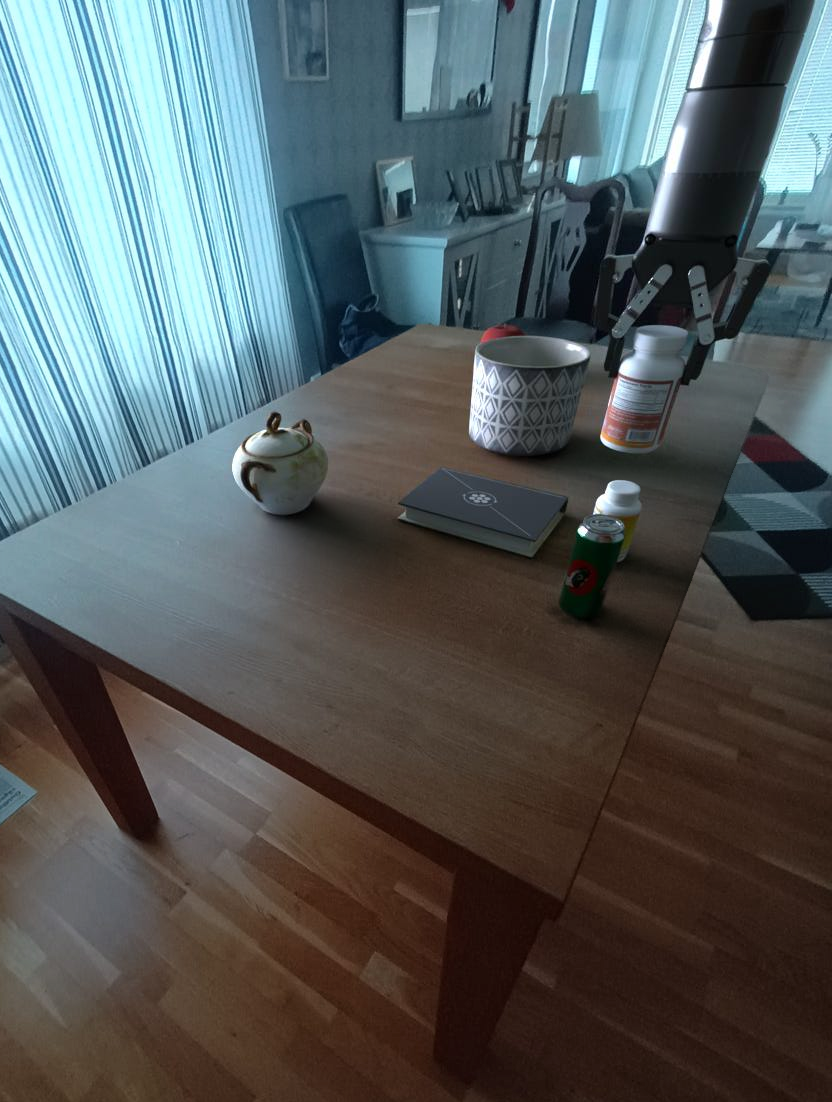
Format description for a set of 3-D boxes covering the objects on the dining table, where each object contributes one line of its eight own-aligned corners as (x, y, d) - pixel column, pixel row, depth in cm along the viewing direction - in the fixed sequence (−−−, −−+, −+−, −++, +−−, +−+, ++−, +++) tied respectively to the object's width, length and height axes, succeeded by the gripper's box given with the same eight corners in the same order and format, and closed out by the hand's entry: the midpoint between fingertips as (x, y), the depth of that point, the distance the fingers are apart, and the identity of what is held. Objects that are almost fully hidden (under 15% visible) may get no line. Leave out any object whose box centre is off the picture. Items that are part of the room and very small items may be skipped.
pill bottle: (625, 428, 66) (656, 319, 58) (672, 446, 62) (712, 332, 54) (586, 440, 63) (613, 329, 56) (632, 460, 59) (668, 343, 52)
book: (565, 513, 89) (570, 495, 87) (531, 559, 80) (535, 540, 78) (439, 482, 98) (441, 465, 96) (396, 520, 89) (397, 502, 87)
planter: (578, 433, 112) (600, 341, 102) (556, 473, 100) (578, 372, 89) (483, 419, 119) (494, 331, 108) (451, 454, 107) (460, 359, 96)
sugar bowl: (293, 541, 85) (282, 443, 76) (212, 521, 91) (191, 427, 81) (351, 485, 99) (348, 395, 89) (277, 470, 104) (266, 384, 94)
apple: (521, 384, 135) (529, 329, 127) (475, 382, 137) (481, 327, 129) (522, 369, 143) (530, 317, 135) (478, 368, 145) (484, 316, 137)
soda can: (603, 622, 69) (632, 536, 61) (560, 619, 70) (583, 533, 62) (596, 597, 73) (623, 513, 65) (555, 594, 74) (576, 510, 66)
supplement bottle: (633, 557, 80) (657, 489, 73) (605, 570, 77) (627, 501, 71) (601, 539, 83) (621, 473, 76) (574, 551, 81) (591, 484, 74)
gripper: (614, 169, 47) (568, 383, 58) (821, 166, 42) (729, 400, 53) (622, 164, 52) (579, 362, 63) (808, 161, 47) (726, 375, 58)
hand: (648, 379), depth 58 cm, fingers closed on pill bottle, 6 cm apart
